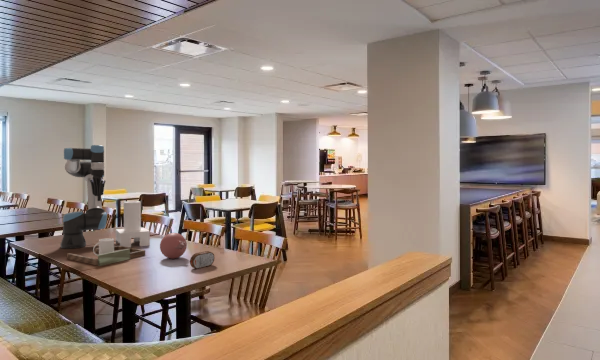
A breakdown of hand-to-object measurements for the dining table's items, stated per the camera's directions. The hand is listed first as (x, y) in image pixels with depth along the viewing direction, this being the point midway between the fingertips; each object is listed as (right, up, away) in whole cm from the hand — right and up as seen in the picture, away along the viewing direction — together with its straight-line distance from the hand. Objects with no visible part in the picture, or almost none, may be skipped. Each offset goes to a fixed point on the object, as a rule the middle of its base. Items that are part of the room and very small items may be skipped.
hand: (98, 205), depth 253 cm
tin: (+76, -32, -35) cm, 89 cm away
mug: (+14, -31, -21) cm, 40 cm away
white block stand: (+12, -29, +24) cm, 39 cm away
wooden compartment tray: (+13, -30, -14) cm, 35 cm away
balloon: (+55, -31, -17) cm, 65 cm away
